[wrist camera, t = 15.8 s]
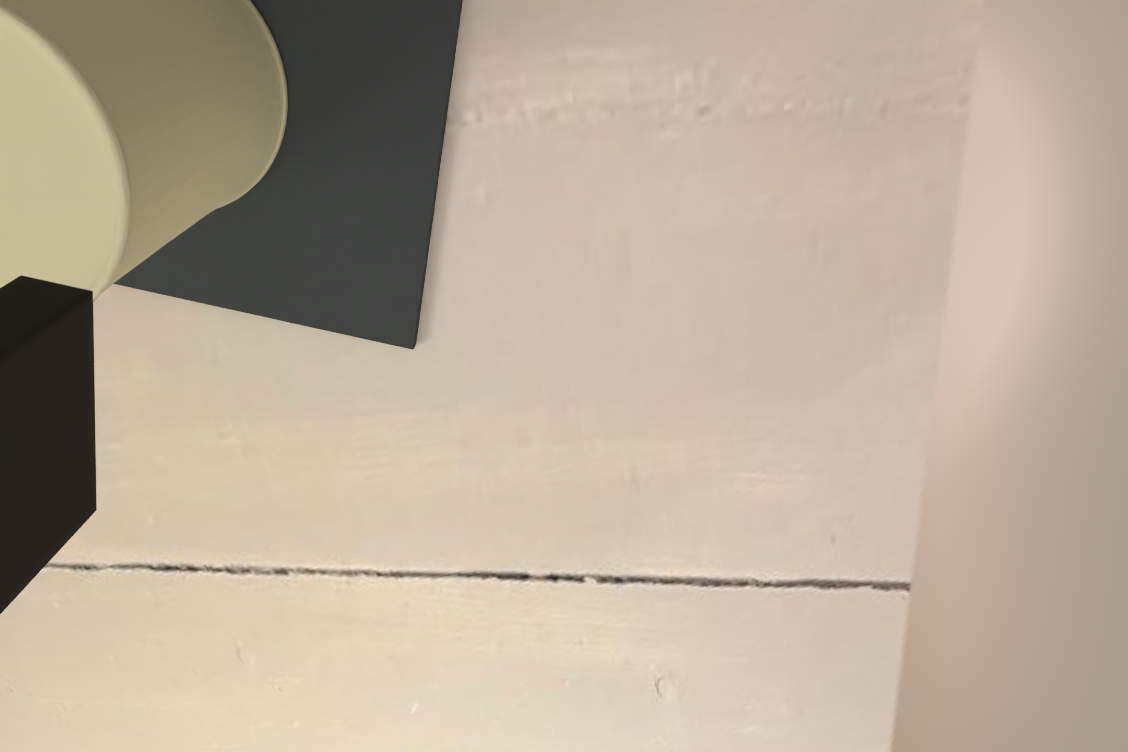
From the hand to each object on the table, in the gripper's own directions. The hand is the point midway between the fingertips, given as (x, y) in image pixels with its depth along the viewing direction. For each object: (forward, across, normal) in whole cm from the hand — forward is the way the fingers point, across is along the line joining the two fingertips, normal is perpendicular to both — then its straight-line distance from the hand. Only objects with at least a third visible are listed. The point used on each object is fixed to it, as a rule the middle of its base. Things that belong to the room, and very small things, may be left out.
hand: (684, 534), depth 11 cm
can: (+26, -18, -4) cm, 32 cm away
